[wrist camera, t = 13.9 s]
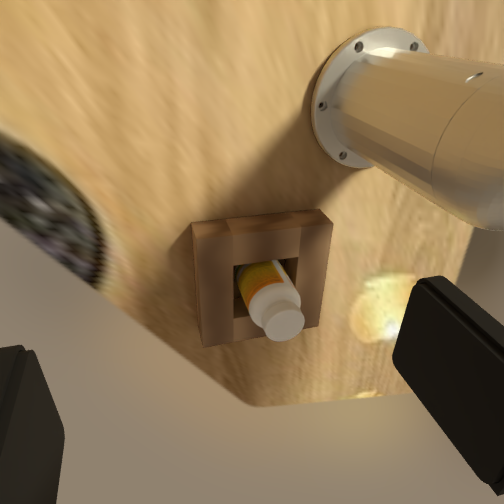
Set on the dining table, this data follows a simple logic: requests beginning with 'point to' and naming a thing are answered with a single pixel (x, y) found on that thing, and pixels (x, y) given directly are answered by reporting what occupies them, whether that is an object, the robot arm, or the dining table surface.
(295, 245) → the socket block
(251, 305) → the supplement bottle
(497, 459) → the robot arm
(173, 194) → the dining table surface
